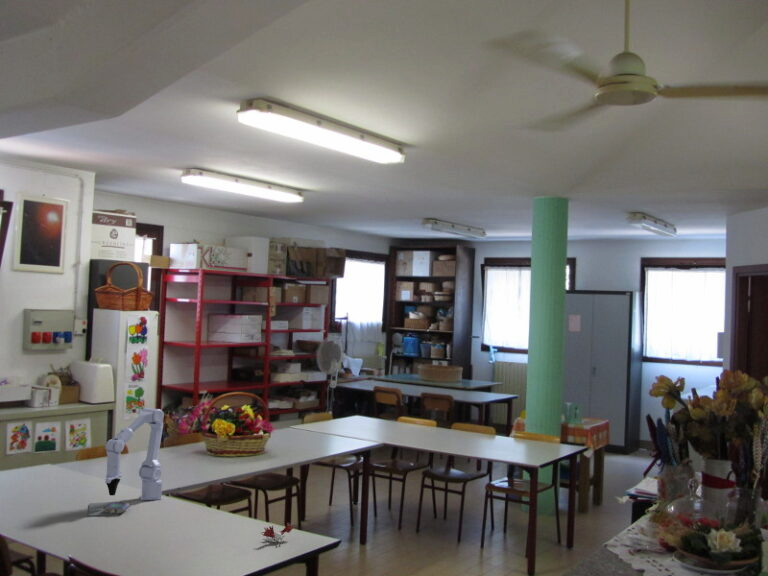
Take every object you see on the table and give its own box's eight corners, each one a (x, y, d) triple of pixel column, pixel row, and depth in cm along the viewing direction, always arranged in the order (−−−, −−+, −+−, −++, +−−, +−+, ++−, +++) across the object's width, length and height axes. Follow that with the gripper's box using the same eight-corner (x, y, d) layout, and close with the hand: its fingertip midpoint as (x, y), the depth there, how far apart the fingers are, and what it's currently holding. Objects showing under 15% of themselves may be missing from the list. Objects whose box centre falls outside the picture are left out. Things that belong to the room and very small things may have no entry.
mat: (116, 502, 344) (116, 501, 344) (116, 514, 325) (116, 513, 325) (89, 504, 340) (89, 503, 340) (88, 516, 321) (88, 515, 321)
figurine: (282, 533, 307) (283, 518, 307) (298, 541, 298) (298, 525, 298) (251, 540, 297) (252, 524, 297) (267, 548, 288) (268, 531, 288)
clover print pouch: (130, 502, 334) (122, 509, 323) (129, 509, 334) (121, 516, 323) (110, 501, 334) (101, 507, 323) (109, 507, 333) (101, 514, 323)
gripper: (117, 469, 327) (115, 499, 327) (127, 462, 342) (126, 491, 341) (101, 469, 327) (99, 499, 327) (112, 462, 341) (111, 490, 341)
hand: (112, 495), depth 334 cm, fingers closed
